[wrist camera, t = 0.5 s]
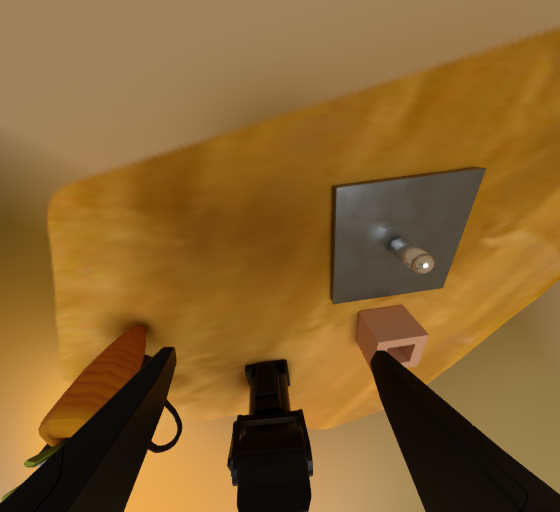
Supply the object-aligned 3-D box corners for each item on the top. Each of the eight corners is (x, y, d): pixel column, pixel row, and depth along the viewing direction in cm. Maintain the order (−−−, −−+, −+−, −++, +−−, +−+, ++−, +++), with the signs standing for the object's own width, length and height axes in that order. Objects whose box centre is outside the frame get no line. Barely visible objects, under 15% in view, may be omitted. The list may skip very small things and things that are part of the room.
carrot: (158, 343, 27) (65, 530, 14) (116, 334, 26) (-31, 532, 13) (167, 318, 25) (69, 508, 12) (123, 306, 24) (-43, 507, 11)
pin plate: (436, 283, 26) (476, 314, 22) (330, 298, 26) (347, 333, 21) (476, 166, 20) (546, 174, 15) (333, 185, 19) (357, 200, 14)
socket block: (394, 334, 31) (417, 366, 26) (356, 340, 31) (372, 373, 26) (402, 304, 28) (429, 334, 24) (359, 311, 28) (378, 342, 23)
